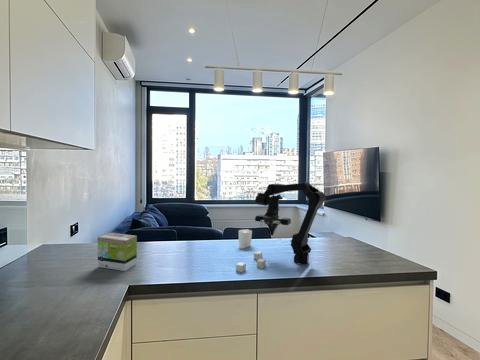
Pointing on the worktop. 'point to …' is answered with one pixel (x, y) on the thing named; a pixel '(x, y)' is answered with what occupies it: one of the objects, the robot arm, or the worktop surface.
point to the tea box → (117, 251)
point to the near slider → (240, 267)
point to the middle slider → (261, 263)
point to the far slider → (257, 255)
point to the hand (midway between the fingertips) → (272, 235)
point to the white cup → (244, 238)
